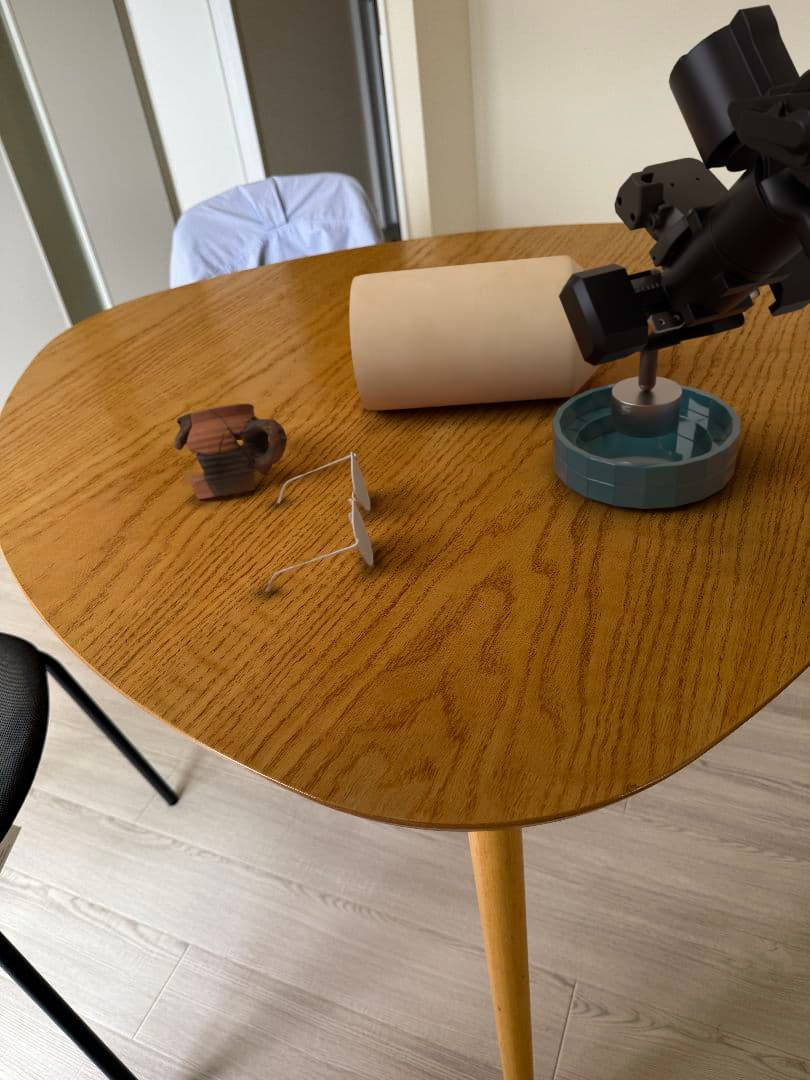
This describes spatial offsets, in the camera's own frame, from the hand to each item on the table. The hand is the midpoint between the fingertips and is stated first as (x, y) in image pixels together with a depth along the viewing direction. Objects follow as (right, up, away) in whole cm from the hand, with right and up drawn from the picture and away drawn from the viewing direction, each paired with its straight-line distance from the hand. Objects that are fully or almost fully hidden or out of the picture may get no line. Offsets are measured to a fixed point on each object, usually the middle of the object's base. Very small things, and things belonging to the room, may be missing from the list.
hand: (639, 344), depth 64 cm
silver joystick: (+1, -6, +3) cm, 7 cm away
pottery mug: (-35, -10, +12) cm, 39 cm away
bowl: (+2, -9, +5) cm, 11 cm away
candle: (-11, -1, +20) cm, 23 cm away
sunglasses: (-26, -16, +2) cm, 31 cm away
